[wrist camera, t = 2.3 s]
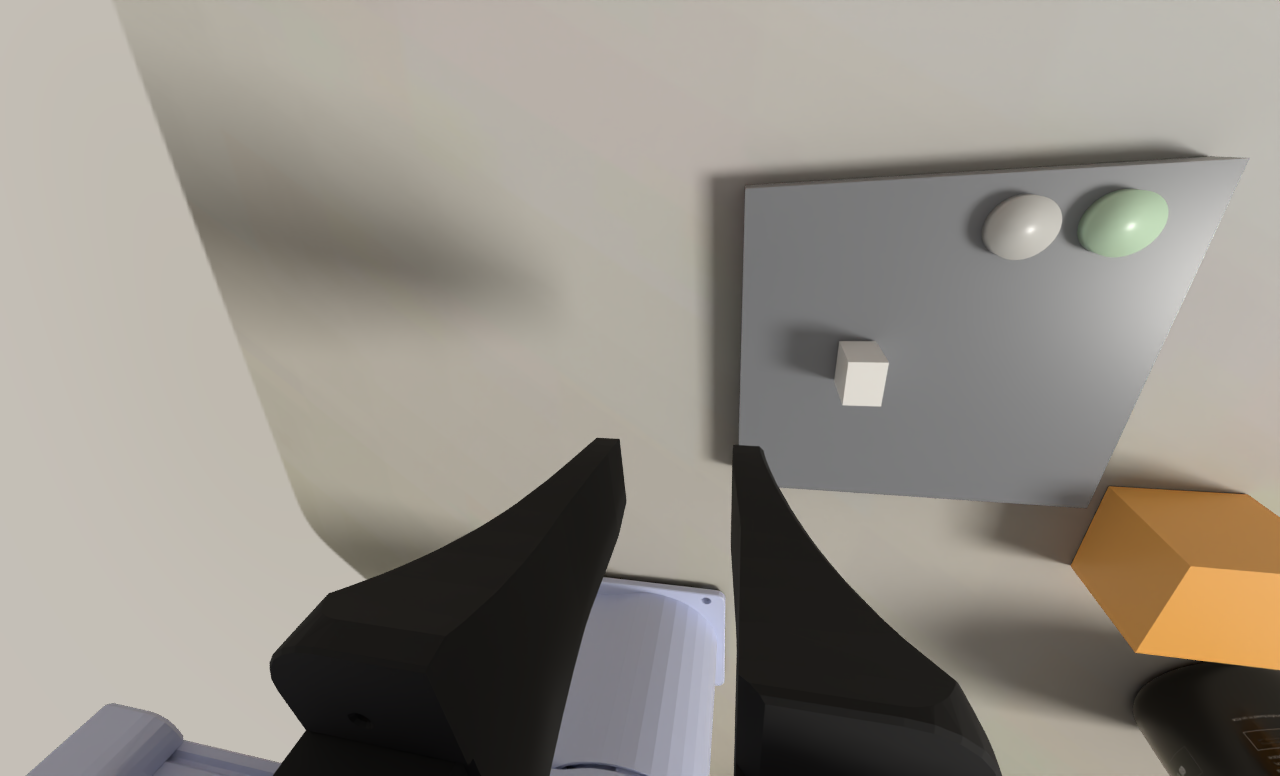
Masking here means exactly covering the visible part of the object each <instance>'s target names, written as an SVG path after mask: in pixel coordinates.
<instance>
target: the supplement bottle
mask: <svg viewBox="0 0 1280 776" xmlns="http://www.w3.org/2000/svg"><path fill="white" fill-rule="evenodd" d="M1133 715H1134V719H1135V721H1136V724H1137V725H1138V727H1139V729H1140V730H1141V732H1142V734H1143V735H1144V737H1145V738H1146V740H1147V741H1148V743H1149V744H1150V746H1151V748H1152V749H1153V751H1154V752H1155V754H1156V755H1157V757H1158V759H1159V760H1160V762H1161V763H1162V765H1163V766H1164V768H1165V769H1166V771H1167V772H1168V774H1169V775H1170V776H1280V670H1275V669H1266V668H1258V667H1250V666H1242V665H1233V664H1225V663H1217V662H1208V663H1201V664H1195V665H1190V666H1186V667H1182V668H1179V669H1175V670H1173V671H1170V672H1167V673H1165V674H1163V675H1160V676H1159V677H1157V678H1155V679H1153V680H1152V681H1150V682H1149V683H1147V684H1146V685H1145V686H1144V687H1143V688H1142V689H1141V690H1140V691H1139V692H1138V694H1137V695H1136V697H1135V700H1134V704H1133Z"/></svg>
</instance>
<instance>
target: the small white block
mask: <svg viewBox="0 0 1280 776" xmlns="http://www.w3.org/2000/svg"><path fill="white" fill-rule="evenodd" d="M888 365H889V362H888V360H887V359H886V357H885V355H884V354H883V352H882V351H881V349H880V347H879V346H878V344H877V342H876V341H839V347H838V355H837V362H836V370H835V378H834V382H835V385H836V388H837V391H838V394H839V397H840V400H841V403H842V405H848V406H879V407H881V404H882V398H883V393H884V387H885V382H886V376H887V371H888Z"/></svg>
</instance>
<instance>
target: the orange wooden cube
mask: <svg viewBox="0 0 1280 776" xmlns="http://www.w3.org/2000/svg"><path fill="white" fill-rule="evenodd" d="M1071 567H1072V569H1073V570H1074V571H1075V573H1076V574H1077V575H1078V577H1079V578H1080V579H1081V581H1082V582H1083V583H1084V585H1085V586H1086V587H1087V589H1088V590H1089V591H1090V593H1091V594H1092V595H1093V597H1094V598H1095V599H1096V601H1097V602H1098V603H1099V605H1100V606H1101V608H1102V609H1103V610H1104V612H1105V613H1106V614H1107V616H1108V617H1109V618H1110V620H1111V621H1112V622H1113V624H1114V625H1115V626H1116V628H1117V629H1118V630H1119V632H1120V633H1121V634H1122V636H1123V637H1124V638H1125V640H1126V641H1127V642H1128V644H1129V645H1130V646H1131V648H1132V649H1133V650H1134V652H1135V653H1142V654H1150V655H1159V656H1167V657H1175V658H1184V659H1192V660H1200V661H1208V662H1217V663H1225V664H1233V665H1242V666H1250V667H1258V668H1266V669H1275V670H1280V517H1278V516H1277V515H1276V514H1274V513H1273V512H1272V511H1270V510H1269V509H1267V508H1266V507H1265V506H1263V505H1262V504H1260V503H1259V502H1258V501H1256V500H1255V499H1253V498H1252V497H1251V496H1249V495H1247V494H1230V493H1214V492H1197V491H1180V490H1163V489H1146V488H1129V487H1113V486H1109V487H1108V489H1107V491H1106V493H1105V495H1104V497H1103V499H1102V501H1101V503H1100V505H1099V508H1098V510H1097V512H1096V514H1095V516H1094V518H1093V520H1092V522H1091V524H1090V526H1089V528H1088V531H1087V533H1086V535H1085V537H1084V539H1083V541H1082V543H1081V545H1080V547H1079V549H1078V551H1077V554H1076V556H1075V558H1074V560H1073V562H1072V564H1071Z"/></svg>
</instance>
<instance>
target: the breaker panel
mask: <svg viewBox="0 0 1280 776" xmlns="http://www.w3.org/2000/svg"><path fill="white" fill-rule="evenodd" d="M1249 159H1250V158H1235V157H1214V156H1210V157H1193V158H1177V159H1161V160H1145V161H1129V162H1113V163H1096V164H1080V165H1064V166H1048V167H1032V168H1016V169H1000V170H983V171H967V172H951V173H935V174H919V175H903V176H887V177H870V178H854V179H838V180H822V181H806V182H790V183H774V184H757V185H745V215H744V254H743V294H742V333H741V372H740V411H739V445H746V446H760V447H761V448H762V449H763V450H764V454H765V457H766V460H767V463H768V466H769V468H770V470H771V472H772V475H773V477H774V479H775V481H776V483H777V485H778V487H781V488H796V489H810V490H825V491H840V492H854V493H869V494H883V495H898V496H913V497H927V498H942V499H957V500H971V501H986V502H1001V503H1015V504H1030V505H1045V506H1059V507H1074V508H1087V507H1088V505H1089V503H1090V501H1091V499H1092V497H1093V494H1094V492H1095V490H1096V488H1097V486H1098V484H1099V481H1100V479H1101V477H1102V475H1103V473H1104V471H1105V469H1106V466H1107V464H1108V462H1109V460H1110V458H1111V456H1112V454H1113V451H1114V449H1115V447H1116V445H1117V443H1118V441H1119V438H1120V436H1121V434H1122V432H1123V430H1124V428H1125V426H1126V423H1127V421H1128V419H1129V417H1130V415H1131V413H1132V410H1133V408H1134V406H1135V404H1136V402H1137V400H1138V398H1139V395H1140V393H1141V391H1142V389H1143V387H1144V385H1145V383H1146V380H1147V378H1148V376H1149V374H1150V372H1151V370H1152V367H1153V365H1154V363H1155V361H1156V359H1157V357H1158V355H1159V352H1160V350H1161V348H1162V346H1163V344H1164V342H1165V339H1166V337H1167V335H1168V333H1169V331H1170V329H1171V327H1172V324H1173V322H1174V320H1175V318H1176V316H1177V314H1178V312H1179V309H1180V307H1181V305H1182V303H1183V301H1184V299H1185V296H1186V294H1187V292H1188V290H1189V288H1190V286H1191V284H1192V281H1193V279H1194V277H1195V275H1196V273H1197V271H1198V268H1199V266H1200V264H1201V262H1202V260H1203V258H1204V256H1205V253H1206V251H1207V249H1208V247H1209V245H1210V243H1211V241H1212V238H1213V236H1214V234H1215V232H1216V230H1217V228H1218V225H1219V223H1220V221H1221V219H1222V217H1223V215H1224V213H1225V210H1226V208H1227V206H1228V204H1229V202H1230V200H1231V197H1232V195H1233V193H1234V191H1235V189H1236V187H1237V185H1238V182H1239V180H1240V178H1241V176H1242V174H1243V172H1244V170H1245V167H1246V165H1247V163H1248V161H1249ZM839 341H876V342H877V344H878V346H879V347H880V349H881V351H882V352H883V354H884V355H885V357H886V359H887V360H888V362H889V365H888V371H887V376H886V382H885V387H884V393H883V398H882V404H881V407H879V406H848V405H842V403H841V400H840V397H839V394H838V391H837V388H836V385H835V382H834V378H835V370H836V362H837V355H838V347H839Z"/></svg>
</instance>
